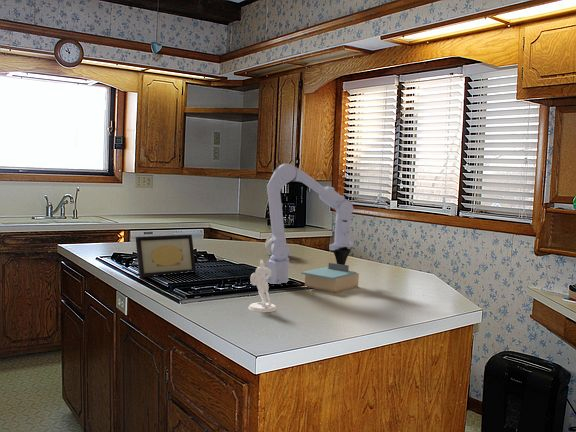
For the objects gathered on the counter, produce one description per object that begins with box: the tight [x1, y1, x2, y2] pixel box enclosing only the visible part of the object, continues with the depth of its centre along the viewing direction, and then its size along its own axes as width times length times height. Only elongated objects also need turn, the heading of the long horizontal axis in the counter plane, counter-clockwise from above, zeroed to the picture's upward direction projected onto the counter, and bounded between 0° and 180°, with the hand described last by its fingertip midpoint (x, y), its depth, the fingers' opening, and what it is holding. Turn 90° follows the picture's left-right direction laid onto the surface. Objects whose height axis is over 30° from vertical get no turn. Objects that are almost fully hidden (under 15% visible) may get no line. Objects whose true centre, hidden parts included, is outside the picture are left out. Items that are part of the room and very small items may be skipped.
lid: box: [300, 262, 358, 279], centre depth 210 cm, size 16×13×3 cm
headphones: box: [264, 234, 273, 256], centre depth 278 cm, size 18×10×20 cm, turn 4°
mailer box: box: [304, 272, 360, 294], centre depth 213 cm, size 16×13×5 cm
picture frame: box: [135, 234, 197, 279], centre depth 222 cm, size 23×9×15 cm, turn 129°
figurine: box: [247, 259, 278, 313], centre depth 175 cm, size 9×9×15 cm
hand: (340, 267), depth 217 cm, fingers closed
